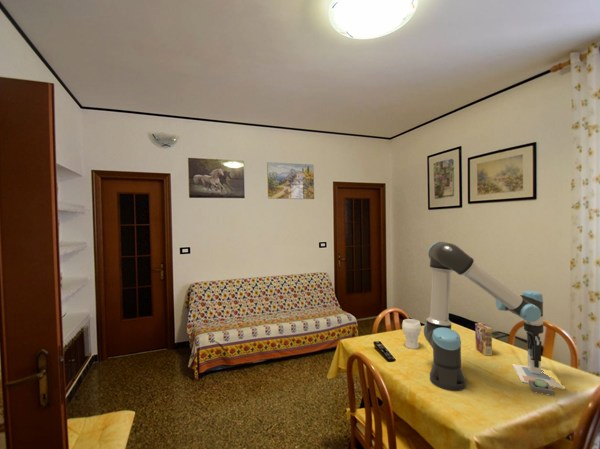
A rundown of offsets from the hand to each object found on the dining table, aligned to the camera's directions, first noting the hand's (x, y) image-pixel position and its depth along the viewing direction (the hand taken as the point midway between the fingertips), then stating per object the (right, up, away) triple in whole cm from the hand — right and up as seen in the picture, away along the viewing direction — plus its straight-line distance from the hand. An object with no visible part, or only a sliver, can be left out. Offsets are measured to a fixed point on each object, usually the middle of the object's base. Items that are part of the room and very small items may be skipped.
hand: (534, 371), depth 143 cm
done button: (-8, 0, -14) cm, 16 cm away
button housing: (-8, -1, -14) cm, 16 cm away
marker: (0, 0, 0) cm, 0 cm away
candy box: (-10, -2, +24) cm, 26 cm away
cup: (-47, -3, +35) cm, 58 cm away
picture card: (-1, -1, -3) cm, 3 cm away
